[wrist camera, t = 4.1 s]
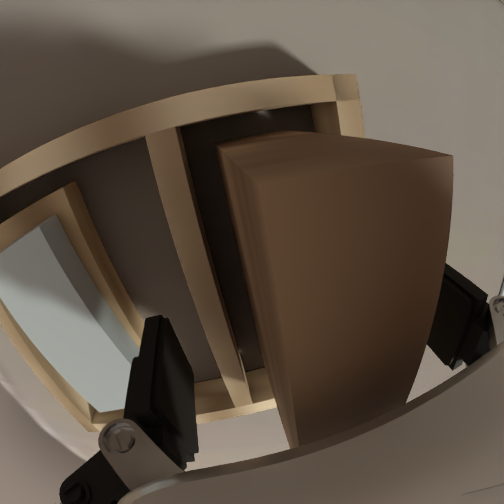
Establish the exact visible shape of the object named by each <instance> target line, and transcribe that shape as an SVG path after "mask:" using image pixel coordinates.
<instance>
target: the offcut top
mask: <svg viewBox="0 0 504 504" xmlns="http://www.w3.org/2000/svg"><path fill="white" fill-rule="evenodd" d="M0 298H1V300H2V301H3V303H4V304H5V306H6V307H7V309H8V310H9V312H10V313H11V315H12V316H13V317H14V319H15V320H16V322H17V323H18V324H19V326H20V327H21V328H22V330H23V331H24V332H25V334H26V335H27V336H28V338H29V339H30V340H31V341H32V343H33V344H34V345H35V346H36V347H37V349H38V350H39V351H40V352H41V353H42V355H43V356H44V357H45V358H46V359H47V360H48V362H49V363H50V364H51V365H52V366H53V367H54V368H55V369H56V370H57V372H58V373H59V374H60V375H61V376H62V377H63V378H64V379H65V380H66V381H67V382H68V383H69V384H70V385H71V386H72V387H73V388H74V389H75V390H76V391H77V392H78V393H79V394H80V395H81V396H82V397H83V398H84V399H85V400H86V401H87V402H89V403H90V404H91V405H92V406H93V407H94V408H95V409H96V410H97V411H99V412H107V411H113V410H119V409H124V408H125V401H126V394H127V388H128V382H129V376H130V370H131V364H132V360H133V358H134V357H138V356H139V351H140V348H139V347H138V346H137V344H136V343H135V342H134V341H133V339H132V338H131V337H130V335H129V334H128V332H127V331H126V330H125V328H124V327H123V326H122V324H121V323H120V321H119V320H118V318H117V317H116V316H115V314H114V313H113V311H112V310H111V308H110V307H109V305H108V304H107V302H106V301H105V299H104V298H103V296H102V295H101V293H100V292H99V290H98V288H97V287H96V285H95V284H94V282H93V280H92V279H91V277H90V276H89V274H88V272H87V271H86V269H85V267H84V265H83V264H82V262H81V260H80V259H79V257H78V255H77V253H76V251H75V250H74V248H73V246H72V244H71V242H70V240H69V239H68V237H67V235H66V233H65V231H64V229H63V227H62V225H61V223H60V221H59V219H58V217H57V215H56V214H55V215H53V216H52V217H50V218H48V219H47V220H45V221H44V222H42V223H41V224H39V225H37V226H36V227H34V228H33V229H31V230H30V231H28V232H27V233H25V234H24V235H22V236H21V237H20V238H18V239H17V240H15V241H14V242H12V243H11V244H10V245H8V246H7V247H5V248H4V249H3V250H1V251H0Z"/></svg>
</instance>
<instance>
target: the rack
mask: <svg viewBox="0 0 504 504" xmlns="http://www.w3.org/2000/svg"><path fill="white" fill-rule="evenodd" d="M302 105H310V106H311V112H312V119H313V125H314V132H315V133H325V134H335V135H344V136H352V137H359V138H365V134H364V125H363V117H362V110H361V103H360V96H359V90H358V84H357V78H356V74H334V75H307V76H293V77H281V78H271V79H263V80H255V81H248V82H241V83H235V84H229V85H223V86H218V87H213V88H208V89H203V90H198V91H194V92H189V93H185V94H181V95H177V96H173V97H169V98H166V99H162V100H158V101H155V102H151V103H148V104H145V105H141V106H138V107H135V108H132V109H129V110H126V111H123V112H120V113H117V114H114V115H112V116H109V117H106V118H103V119H101V120H98V121H96V122H93V123H91V124H88V125H86V126H83V127H81V128H79V129H76V130H74V131H72V132H69V133H67V134H65V135H63V136H61V137H58V138H56V139H54V140H52V141H50V142H48V143H46V144H44V145H42V146H40V147H38V148H36V149H34V150H32V151H30V152H29V153H27V154H25V155H23V156H21V157H19V158H18V159H16V160H14V161H13V162H11V163H9V164H7V165H6V166H4V167H2V168H1V169H0V198H1V197H3V196H4V195H6V194H8V193H10V192H12V191H14V190H16V189H17V188H19V187H21V186H23V185H25V184H27V183H29V182H31V181H33V180H35V179H37V178H39V177H42V176H44V175H46V174H48V173H50V172H52V171H55V170H57V169H59V168H61V167H64V166H66V165H68V164H71V163H73V162H76V161H78V160H81V159H83V158H86V157H88V156H91V155H93V154H96V153H99V152H101V151H104V150H107V149H110V148H113V147H115V146H118V145H121V144H124V143H127V142H130V141H134V140H137V139H140V138H143V137H145V138H146V142H147V146H148V150H149V155H150V159H151V163H152V167H153V171H154V174H155V178H156V182H157V186H158V190H159V193H160V197H161V200H162V204H163V208H164V211H165V215H166V218H167V221H168V225H169V228H170V232H171V235H172V238H173V241H174V245H175V248H176V251H177V254H178V257H179V260H180V263H181V267H182V270H183V273H184V276H185V279H186V282H187V285H188V287H189V290H190V293H191V296H192V299H193V302H194V305H195V307H196V310H197V313H198V316H199V319H200V321H201V324H202V327H203V329H204V332H205V335H206V337H207V340H208V343H209V345H210V348H211V350H212V353H213V355H214V358H215V360H216V363H217V365H218V368H219V370H220V373H221V375H222V378H218V379H213V380H208V381H203V382H198V383H194V393H195V409H196V423H197V424H199V423H205V422H211V421H217V420H222V419H228V418H233V417H237V416H242V415H247V414H251V413H255V412H259V411H263V410H267V409H271V408H275V407H277V405H276V402H275V398H274V395H273V392H272V389H271V385H270V382H269V379H268V375H267V372H266V369H265V368H261V369H257V370H253V371H249V372H245V369H244V366H243V363H242V360H241V356H240V353H239V350H238V347H237V343H236V340H235V337H234V333H233V330H232V327H231V323H230V320H229V317H228V313H227V310H226V306H225V303H224V299H223V296H222V292H221V289H220V285H219V282H218V278H217V275H216V271H215V267H214V264H213V260H212V256H211V253H210V249H209V245H208V241H207V238H206V234H205V230H204V226H203V222H202V218H201V214H200V210H199V206H198V202H197V198H196V194H195V190H194V186H193V182H192V178H191V173H190V169H189V165H188V161H187V156H186V152H185V147H184V143H183V138H182V134H181V129H180V127H183V126H187V125H191V124H195V123H199V122H204V121H208V120H213V119H218V118H222V117H228V116H233V115H238V114H244V113H250V112H256V111H262V110H269V109H276V108H284V107H292V106H302ZM0 324H1V326H2V327H3V329H4V331H5V332H6V334H7V335H8V337H9V338H10V340H11V341H12V343H13V344H14V346H15V347H16V349H17V350H18V351H19V353H20V354H21V356H22V357H23V358H24V360H25V361H26V363H27V364H28V365H29V366H30V368H31V369H32V370H33V372H34V373H35V374H36V375H37V377H38V378H39V379H40V380H41V382H42V383H43V384H44V385H45V386H46V388H47V389H48V390H49V391H50V392H51V393H52V395H53V396H54V397H55V398H56V399H57V400H58V401H59V402H60V403H61V405H62V406H63V407H64V408H65V409H66V410H67V411H68V412H69V413H70V414H71V415H72V416H73V417H74V418H75V419H76V420H77V421H78V422H79V423H80V424H81V425H82V426H83V427H84V428H85V429H86V430H87V431H88V432H101V431H102V429H103V427H104V426H106V425H107V424H108V423H109V422H111V421H113V420H116V419H120V418H122V419H123V416H124V409H119V410H113V411H107V412H99V411H97V410H96V409H95V408H94V407H93V406H92V405H91V404H90V403H89V402H87V401H86V400H85V399H84V398H83V397H82V396H81V395H80V394H79V393H78V392H77V391H76V390H75V389H74V388H73V387H72V386H71V385H70V384H69V383H68V382H67V381H66V380H65V379H64V378H63V377H62V376H61V375H60V374H59V373H58V372H57V370H56V369H55V368H54V367H53V366H52V365H51V364H50V363H49V362H48V360H47V359H46V358H45V357H44V356H43V355H42V353H41V352H40V351H39V350H38V349H37V347H36V346H35V345H34V344H33V343H32V341H31V340H30V339H29V338H28V336H27V335H26V334H25V332H24V331H23V330H22V328H21V327H20V326H19V324H18V323H17V322H16V320H15V319H14V317H13V316H12V315H11V313H10V312H9V310H8V309H7V307H6V306H5V304H4V303H3V301H2V300H1V298H0Z"/></svg>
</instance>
